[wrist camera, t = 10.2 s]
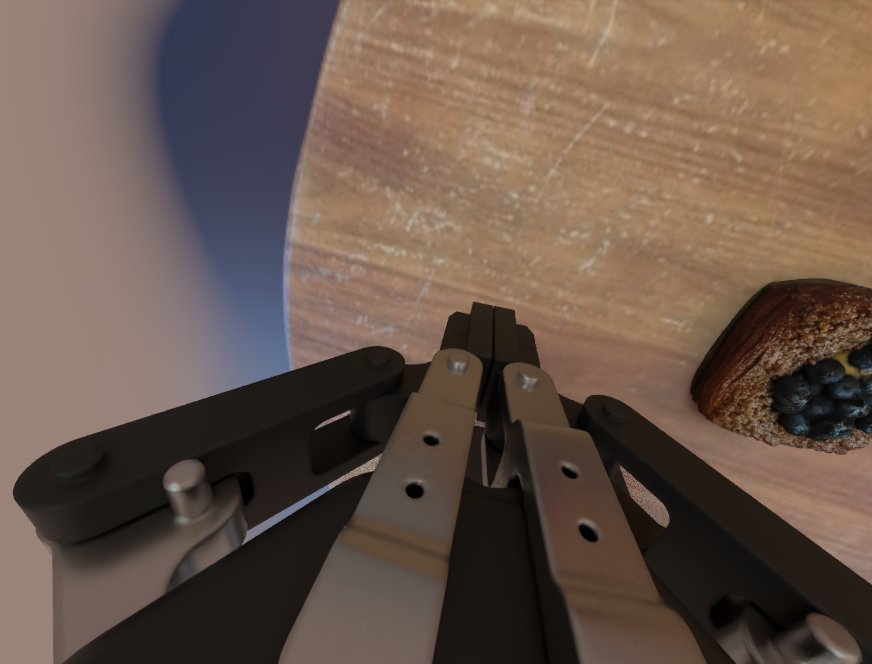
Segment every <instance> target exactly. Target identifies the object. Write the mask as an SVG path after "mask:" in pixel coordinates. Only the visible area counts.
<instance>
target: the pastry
mask: <svg viewBox="0 0 872 664" xmlns="http://www.w3.org/2000/svg"><path fill="white" fill-rule="evenodd" d="M691 395H692V396H693V400H694V402H695V403H697V404H699V405H698V408H699V412H700V413H702V414H703V415H704V416H705V417H706V419H707V420H709V421H711V422H713V423H715V424H717V425H718V426H720V427H723V428H724V429H727V430H730V431H732V432H735V433H737V434H741V435H745V437H754V438H755V439H756V440H759V441H761V440H762V441H763V442H764V443H766V444H769V445H770V446H777V445H779V444H783V445H786V446H793V447H797V448H807V449H808V448H811V449H814V450H816V451H825V452H826V453H832V452H835V453H836V454H838V455H844V454H846V453H847V451H849V450H854V449H856V448H864V447H866V446H867V445H868V443H870V440H869V438H872V289H870V288H866V287H861V286H858V285H854V284H850V283H845V282H841V281H834V280H829V279H798V280H788V281H780V282H773V283H770V284H768V285H767V286H766V287H764V288H763V289H761V290H760V291H759V292H758V293H757V294H756V295H755V296H754V297H753V298H752V299H750V300H749V301H748V303H747V304H746V305H745V306H744V307H743V308H742V309H741V310H740V312H739V313H738V314H737V315H736V317H735V318H734V319H733V321H732V322H731V323H730V324H729V326H728V327H727V328H726V330H725V331H724V332H723V333H722V334H721V336H720V337H719V338H718V340H717V341H716V342H715V344H714V345H713V347H712V348H711V349H710V351H709V352H708V354H707V355H706V357H705V359H704V360H703V362H702V364H701V365H700V367H699V368H698V370H697V372H696V374H695V376H694V379H693V381H692V386H691Z"/></svg>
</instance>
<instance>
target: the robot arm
mask: <svg viewBox="0 0 872 664" xmlns="http://www.w3.org/2000/svg"><path fill="white" fill-rule="evenodd" d="M536 349H537V348H536V344H535V339H534V334H533V333H532V332H531V331H530V330H529V328H528V327H527V326H524V325H519V324H516V318H515V310H512V309H507V308H502V307H497V306H494V308H493V306H492V305H487V304H482V303H478V302H473V304H472V309H471V313H470V314H466V313H461V312H457V311H456V312H455V313H453V314H452V315H451V316H449V318H448V322H447V326H446V329H445V333H444V336H443V340H442V344H441V347H440V351H438V352H437V353H436V354H435V355H434V357H433V359H432V361H431V362H428V363H424V364H415V365H413V364H405V360H404V358H403V356H402V355H401V354H400V353H399V352H397V351H395V350H393V349H391V348H387V347H382V346H371V347H366V348H362V349H359V350H356V351H353V352H350V353H346V354H343V355H340V356H337V357H334V358H331V359H327V360H324V361H321V362H318V363H315V364H312V365H309V366H305V367H302V368H299V369H296V370H293V371H290V372H287V373H283V374H281V375H277V376H274V377H271V378H268V379H264V380H261V381H259V382H255V383H252V384H249V385H246V386H242V387H239V388H236V389H233V390H230V391H227V392H223V393H220V394H217V395H214V396H211V397H208V398H205V399H201V400H198V401H195V402H192V403H189V404H186V405H182V406H180V407H176V408H173V409H170V410H167V411H164V412H161V413H157V414H154V415H151V416H148V417H145V418H142V419H138V420H135V421H132V422H129V423H126V424H123V425H119V426H116V427H113V428H110V429H107V430H104V431H101V432H98V433H94V434H91V435H88V436H85V437H82V438H79V439H76V440H73V441H70V442H68V443H66V444H63V445H61V446H59V447H57V448H55V449H53V450H51V451H50V452H48V453H46V454H45V455H43V456H41V457H40V458H39V459H37V460H36V461H35V462H33V463H32V464H31V465H30V466H29V467H28V468H26V469H25V471H24V472H23V473H22V474H21V475H20V476H19V478H18V480H17V481H16V483H15V486H14V489H13V496H14V499H15V501H16V502H17V503H18V505H19V506H20V508H21V509H22V510H23V511H24V513H25V514H26V515H27V517H28V518H29V519H30V521H31V522H32V523H33V525H34V526H35V527H36V533H37V537H38V538H39V539H40V540H41V542H42V543H43V544H44V546H45V547H46V548H47V549H48V551H49V552H50V553H51V555H52V563H53V656H54V657H53V658H54V659H53V660H54V664H872V585H871V584H870V583H869V582H867V581H866V580H865V579H863V578H862V577H860V576H859V575H858V574H856V573H855V572H854V571H852V570H851V569H850V568H848V567H847V566H845V565H844V564H843V563H841V562H840V561H839V560H837V559H836V558H835V557H833V556H832V555H831V554H829V553H828V552H826V551H825V550H824V549H822V548H821V547H820V546H818V545H817V544H816V543H814V542H813V541H812V540H810V539H809V538H807V537H806V536H805V535H803V534H802V533H801V532H799V531H798V530H797V529H795V528H794V527H792V526H791V525H790V524H788V523H787V522H786V521H784V520H783V519H782V518H780V517H779V516H778V515H776V514H775V513H773V512H772V511H771V510H769V509H768V508H767V507H765V506H764V505H763V504H761V503H760V502H758V501H757V500H756V499H754V498H753V497H752V496H750V495H749V494H748V493H746V492H745V491H744V490H742V489H741V488H739V487H738V486H737V485H735V484H734V483H733V482H731V481H730V480H729V479H727V478H726V477H724V476H723V475H722V474H720V473H719V472H718V471H716V470H715V469H714V468H712V467H711V466H710V465H708V464H707V463H705V462H704V461H703V460H701V459H700V458H699V457H697V456H696V455H695V454H693V453H692V452H691V451H689V450H688V449H686V448H685V447H684V446H682V445H681V444H680V443H678V442H677V441H676V440H674V439H673V438H671V437H670V436H669V435H667V434H666V433H665V432H663V431H662V430H661V429H659V428H658V427H657V426H655V425H654V424H652V423H651V422H650V421H648V420H647V419H646V418H644V417H643V416H642V415H640V414H639V413H637V412H636V411H635V410H633V409H632V408H631V407H629V406H628V405H626V404H625V403H623V402H621V401H619V400H617V399H615V398H612V397H609V396H605V395H592V396H589V397H588V398H587V399H586V400H585V402H584V404H583V405H582V404H580V403H578V402H575V401H573V400H571V399H568V398H566V397H564V396H562V395H560V394H558V393H557V390H556V388H555V385H554V382H553V380H552V378H551V377H550V376H549V375H548V374H547V373H546V372H545V371H543V370H541V368H540V363H539V358H538V353H537V351H536ZM349 410H350V414H349V415H347V416H345V417H343V418H341V419H338V420H336V421H334V422H332V423H329V424H327V425H325V426H323V427H321V428H318V429H316V430H314V429H315V428H316V427H317V426H318V425H319V424H321V423H322V422H324V421H326V420H328V419H331V418H333V417H335V416H337V415H340V414H342V413H344V412H346V411H349ZM476 413H477V420H476V421H481V422H485V430H484V434H483V437H482V440H481V455H482V476H483V485H482V484H480V483H478V482H476V481H473V480H471V479H469V478H467V477H465V471H466V465H467V460H468V455H469V449H470V444H471V438H472V433H473V428H474V422H475V417H476ZM382 453H383V454H382ZM380 454H382V456H381V458H380V460H379V462H378V464H377V466H376V468H375V470H374V471H372V472H368V473H364V474H361V475H358V476H355V477H352V478H350V479H348V480H346V481H344V482H342V483H340V484H339V485H337V486H335V487H334V488H332V489H330V490H329V491H327V492H326V493H324V494H323V495H321V496H319V497H318V498H316V499H315V500H313V501H311V502H310V503H308V504H307V505H305V506H304V507H302V508H300V509H299V510H297V511H296V512H294V513H292V514H291V515H289V516H288V517H286V518H285V519H283V520H281V521H280V522H278V523H277V524H275V525H273V526H272V527H270V528H269V529H267V530H265V531H264V532H262V533H261V534H259V535H258V536H256V537H255V538H253V539H251V540H250V541H248V542H246V543H245V544H244V545H242V543H243V541H244V539H245V537H246V533H247V531H248V530H250V529H252V528H253V527H255V526H257V525H259V524H260V523H262V522H264V521H265V520H267V519H269V518H271V517H272V516H274V515H276V514H278V513H279V512H281V511H283V510H284V509H286V508H288V507H290V506H291V505H293V504H295V503H297V502H298V501H300V500H302V499H304V498H305V497H307V496H309V495H311V494H312V493H314V492H316V491H317V490H319V489H321V488H323V487H324V486H326V485H328V484H330V483H331V482H333V481H335V480H337V479H338V478H340V477H342V476H344V475H345V474H347V473H349V472H350V471H352V470H354V469H356V468H357V467H359V466H361V465H363V464H364V463H366V462H368V461H370V460H371V459H373V458H375V457H377V456H378V455H380ZM620 465H621V466H622V467H623V468H624V469H625V470H626V471H628V472H629V473H630V474H631V475H632V476H633V477H634V478H635V479H637V480H638V481H639V482H640V483H641V484H642V485H643V486H644V487H645V488H647V489H648V490H649V491H650V492H651V493H652V494H653V495H654V496H656V497H657V498H658V499H659V500H660V501H661V502H662V503H663V504H664V506H665V507H666V509H667V511H668V513H669V517H670V522H669V525H668V526H667V528H665V527H663V526H661V525H660V524H658V523H657V522H656V521H655V520H654V519H653V518H652V517H651V516H650V515H649V514H648V513H646V512H645V511H644V510H643V509H642V508H641V507H640V506H639V505H638V504H637V503H636V502H635V501H634V500H633V499H632V498H631V497H630V496H629V495H628V494H626V493H625V492H624V491H623V490H622V489H621V488H620V487H619V486H618V485H617V484H616V483H615V482H614V481H613V480H612V478H613V476H614V474H615V473H616V471H617V470H618V468H619V467H620ZM241 545H242V546H241Z"/></svg>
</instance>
